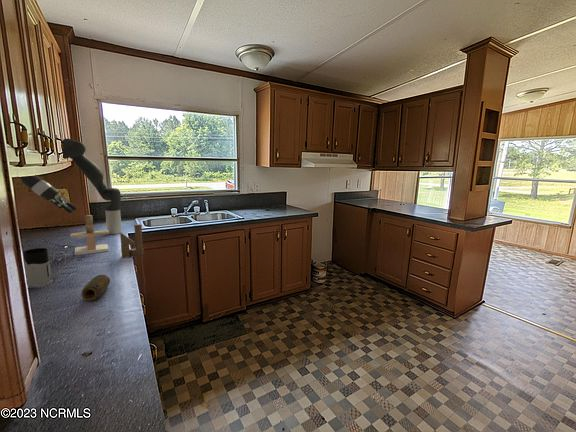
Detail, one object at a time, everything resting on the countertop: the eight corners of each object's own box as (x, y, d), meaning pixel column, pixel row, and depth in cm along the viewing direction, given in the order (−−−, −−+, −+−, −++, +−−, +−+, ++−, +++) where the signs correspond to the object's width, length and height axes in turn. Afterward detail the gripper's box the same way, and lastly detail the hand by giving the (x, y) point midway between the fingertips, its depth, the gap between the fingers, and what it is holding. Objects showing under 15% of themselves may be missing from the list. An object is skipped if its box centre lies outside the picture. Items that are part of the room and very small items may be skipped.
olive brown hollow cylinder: (103, 301, 106) (101, 285, 105) (81, 304, 104) (79, 287, 103) (111, 285, 120) (110, 270, 119) (92, 287, 117) (91, 272, 116)
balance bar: (71, 235, 158) (69, 216, 156) (108, 232, 169) (106, 214, 167) (70, 237, 154) (68, 217, 152) (108, 234, 165) (107, 215, 163)
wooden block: (121, 256, 156) (119, 225, 152) (142, 253, 162) (141, 223, 159) (122, 258, 153) (120, 226, 150) (144, 254, 160) (142, 224, 156)
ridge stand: (75, 249, 163) (73, 234, 161) (107, 246, 172) (106, 231, 171) (74, 255, 154) (73, 238, 153) (108, 251, 164) (107, 235, 162)
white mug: (29, 281, 120) (25, 248, 117) (70, 277, 126) (67, 245, 124) (22, 290, 112) (17, 255, 109) (66, 284, 119) (62, 251, 116)
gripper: (46, 186, 143) (75, 207, 150) (55, 184, 156) (81, 204, 163) (34, 196, 142) (64, 217, 149) (44, 194, 155) (71, 213, 162)
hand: (73, 210), depth 156 cm, fingers open, 8 cm apart
